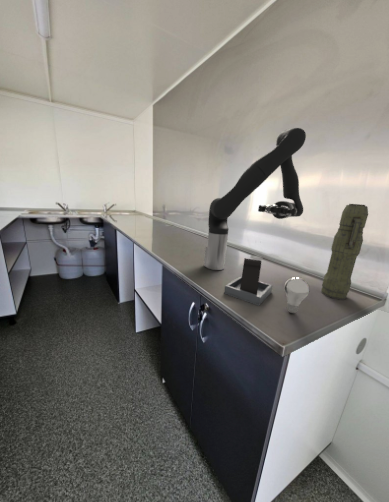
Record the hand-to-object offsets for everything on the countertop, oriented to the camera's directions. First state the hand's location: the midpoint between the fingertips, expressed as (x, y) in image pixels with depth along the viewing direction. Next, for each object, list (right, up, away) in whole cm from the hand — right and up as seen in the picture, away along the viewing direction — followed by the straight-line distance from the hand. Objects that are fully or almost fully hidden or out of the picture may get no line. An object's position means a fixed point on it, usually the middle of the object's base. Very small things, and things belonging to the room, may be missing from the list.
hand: (272, 210), depth 81 cm
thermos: (+26, -33, +4) cm, 42 cm away
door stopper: (-9, -30, -1) cm, 32 cm away
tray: (-9, -31, -2) cm, 33 cm away
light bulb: (+1, -35, -13) cm, 38 cm away
